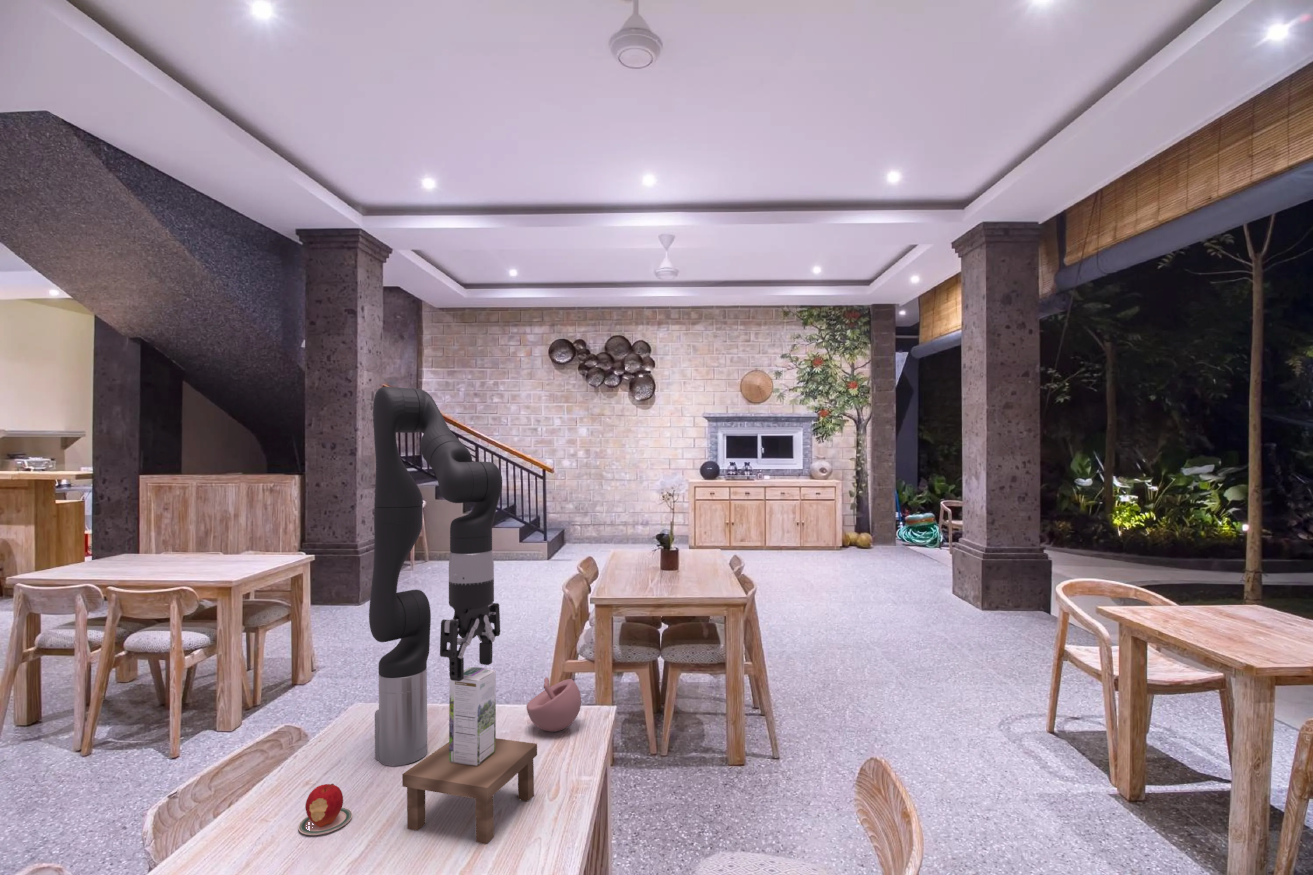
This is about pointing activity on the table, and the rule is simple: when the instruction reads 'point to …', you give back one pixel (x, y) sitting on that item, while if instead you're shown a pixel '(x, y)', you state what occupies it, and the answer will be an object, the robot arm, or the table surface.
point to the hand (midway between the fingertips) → (471, 671)
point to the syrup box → (472, 716)
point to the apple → (324, 811)
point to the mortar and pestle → (555, 706)
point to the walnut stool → (470, 782)
